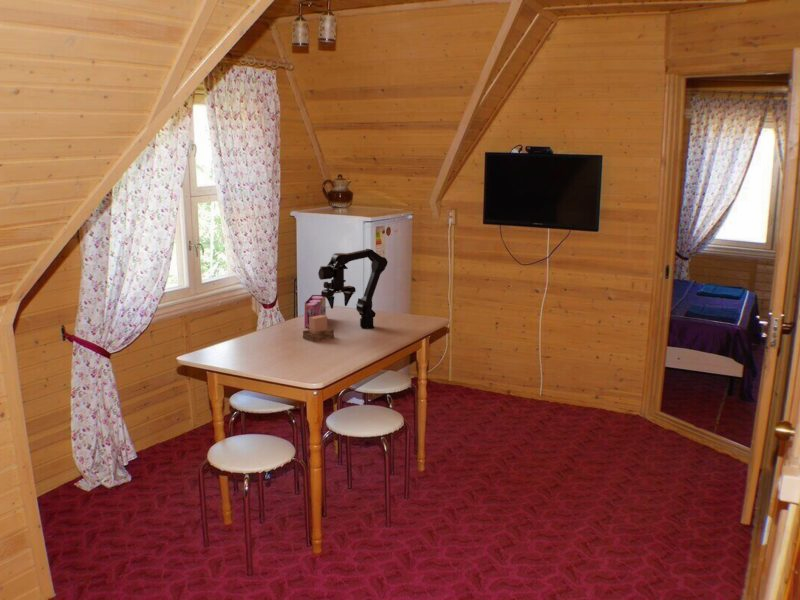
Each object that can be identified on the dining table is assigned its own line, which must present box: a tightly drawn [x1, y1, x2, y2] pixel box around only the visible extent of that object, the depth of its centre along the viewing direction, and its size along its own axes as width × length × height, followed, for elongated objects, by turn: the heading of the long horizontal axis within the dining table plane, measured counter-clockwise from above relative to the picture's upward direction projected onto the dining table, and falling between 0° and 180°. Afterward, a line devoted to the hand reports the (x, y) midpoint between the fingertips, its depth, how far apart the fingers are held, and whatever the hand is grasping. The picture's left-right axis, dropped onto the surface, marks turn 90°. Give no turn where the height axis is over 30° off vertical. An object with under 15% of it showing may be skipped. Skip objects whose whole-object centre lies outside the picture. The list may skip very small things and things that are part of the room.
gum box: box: [304, 294, 327, 329], centre depth 404 cm, size 24×8×14 cm, turn 176°
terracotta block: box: [308, 315, 328, 335], centre depth 374 cm, size 8×4×10 cm, turn 133°
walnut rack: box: [302, 329, 335, 343], centre depth 374 cm, size 13×9×4 cm
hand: (338, 307), depth 385 cm, fingers open, 9 cm apart
